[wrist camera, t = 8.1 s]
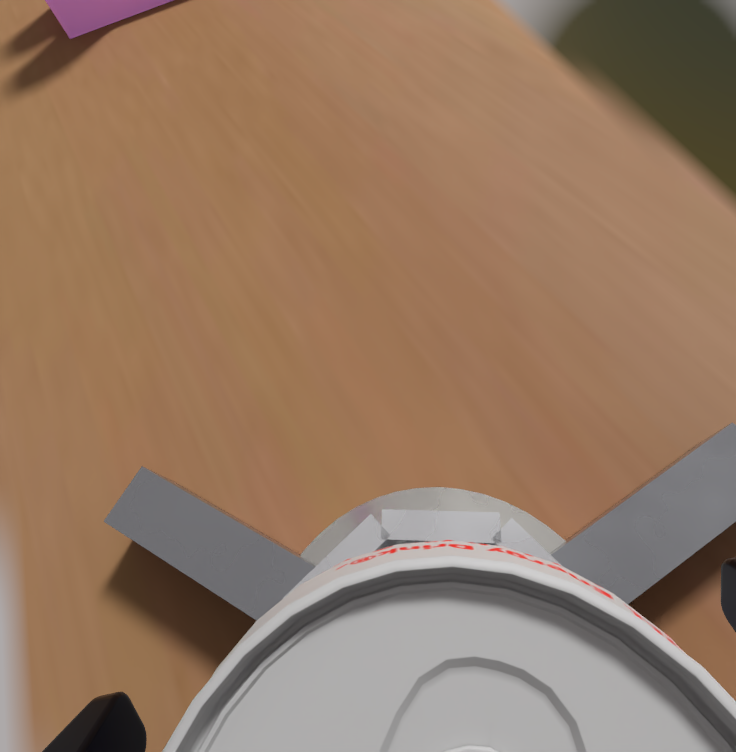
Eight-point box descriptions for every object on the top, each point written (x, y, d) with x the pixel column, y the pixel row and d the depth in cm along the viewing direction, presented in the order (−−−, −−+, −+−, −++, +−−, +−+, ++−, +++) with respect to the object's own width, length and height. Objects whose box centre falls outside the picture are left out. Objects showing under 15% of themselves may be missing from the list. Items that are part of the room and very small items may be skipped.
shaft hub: (841, 547, 14) (937, 533, 12) (446, 1078, 11) (449, 1237, 8) (441, 252, 21) (442, 198, 18) (112, 529, 18) (51, 514, 15)
